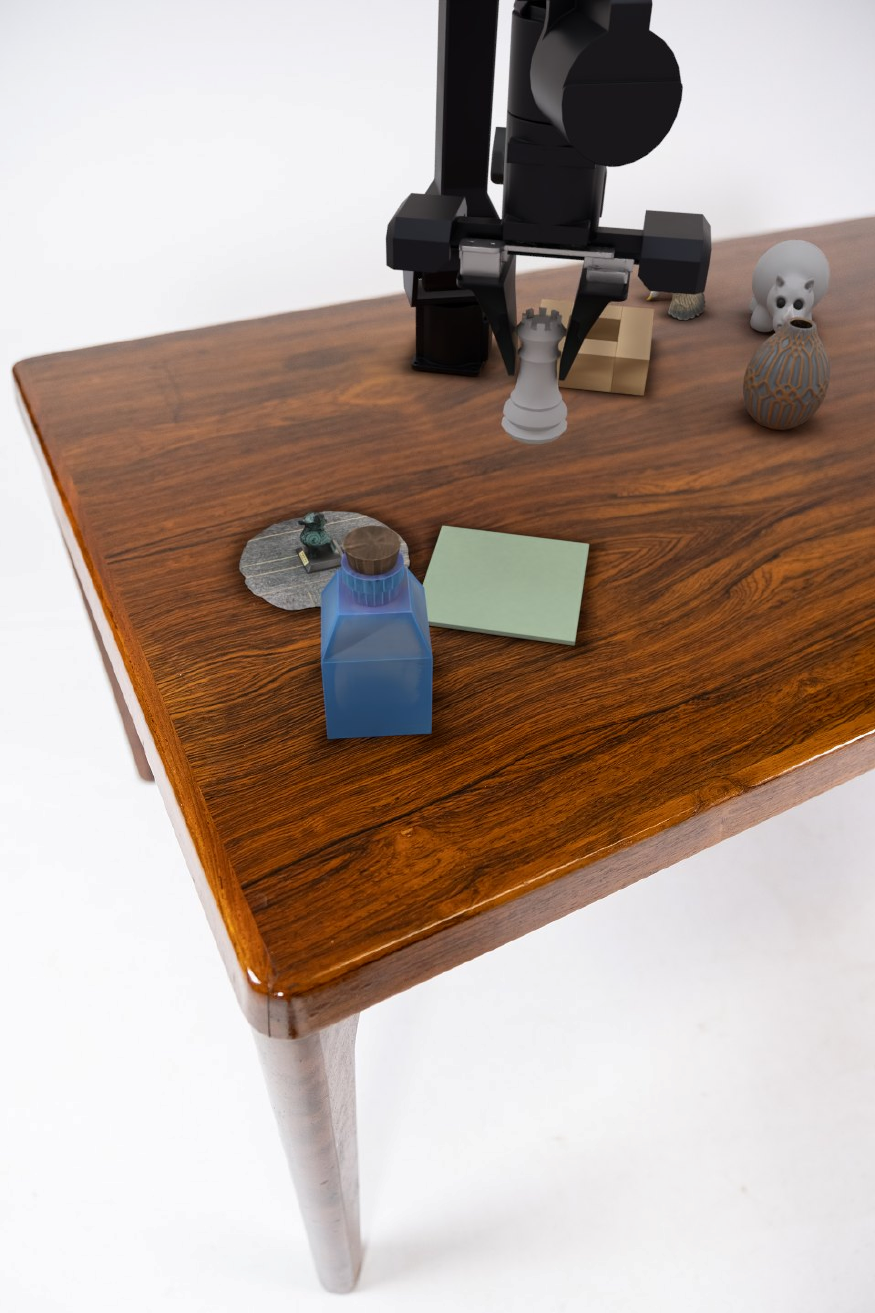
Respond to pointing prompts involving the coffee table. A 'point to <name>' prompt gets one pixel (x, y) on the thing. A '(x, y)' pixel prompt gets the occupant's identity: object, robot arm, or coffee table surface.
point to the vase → (787, 376)
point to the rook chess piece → (537, 381)
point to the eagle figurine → (684, 304)
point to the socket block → (609, 349)
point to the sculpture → (300, 557)
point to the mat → (506, 584)
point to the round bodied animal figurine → (787, 284)
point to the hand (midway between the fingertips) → (537, 375)
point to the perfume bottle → (375, 642)
